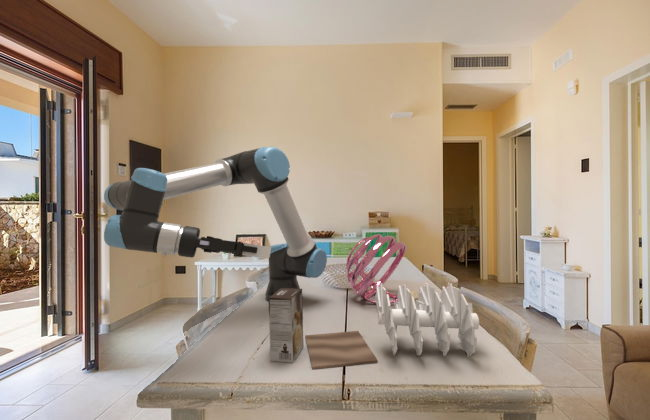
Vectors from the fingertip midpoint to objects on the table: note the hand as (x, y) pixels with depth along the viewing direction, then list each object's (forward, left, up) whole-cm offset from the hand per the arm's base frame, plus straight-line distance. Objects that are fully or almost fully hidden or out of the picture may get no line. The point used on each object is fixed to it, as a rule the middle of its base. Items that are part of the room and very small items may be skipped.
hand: (265, 252), depth 81 cm
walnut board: (+3, +19, -26) cm, 32 cm away
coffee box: (+3, +5, -26) cm, 27 cm away
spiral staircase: (+9, +41, -26) cm, 50 cm away
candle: (-11, +46, -26) cm, 54 cm away
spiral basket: (-37, +43, -26) cm, 63 cm away
